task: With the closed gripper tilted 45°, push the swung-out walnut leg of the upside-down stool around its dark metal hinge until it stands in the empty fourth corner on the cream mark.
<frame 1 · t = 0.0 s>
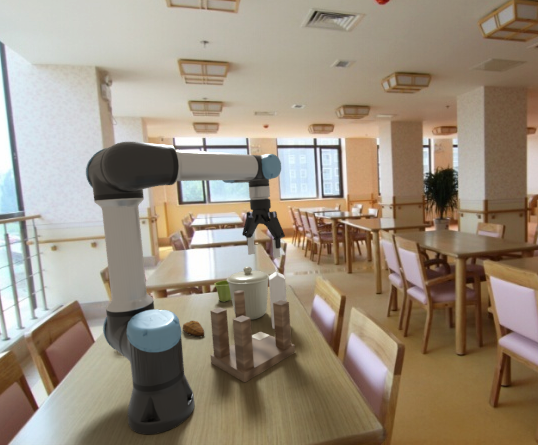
hand: (263, 255, 118), 28 cm above the table, tool pointing down, fingers open, 13 cm apart
plant pot: (225, 300, 157), on the table
croissant: (193, 333, 121), on the table
hinged leg: (240, 316, 106), point 10 cm above the table, hinge at 50.0°
milk: (279, 325, 122), on the table
canister: (250, 315, 134), on the table
stool seat: (253, 357, 99), on the table
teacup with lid: (141, 338, 119), on the table
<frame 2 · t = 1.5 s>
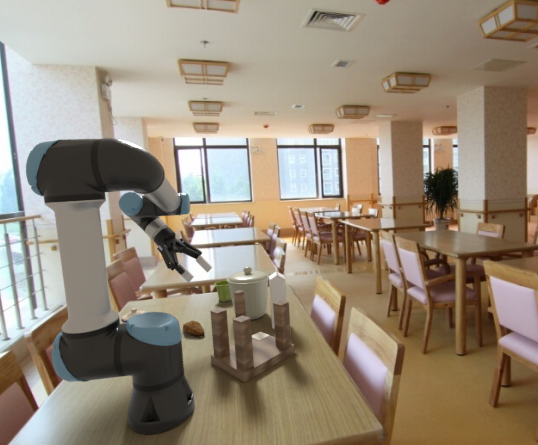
hand: (201, 274, 113), 24 cm above the table, tool tilted 45°, fingers open, 13 cm apart
nothing on the table moved.
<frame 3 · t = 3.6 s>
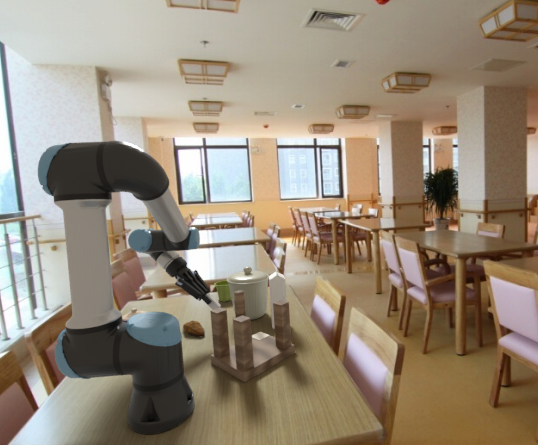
hand: (218, 308, 113), 11 cm above the table, tool tilted 45°, fingers closed
nothing on the table moved.
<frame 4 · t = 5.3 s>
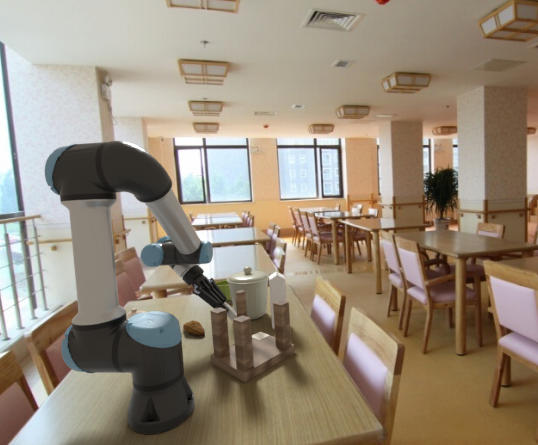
hand: (235, 317, 112), 8 cm above the table, tool tilted 45°, fingers closed
hinged leg: (241, 316, 106), point 10 cm above the table, hinge at 46.5°, touching gripper
everything else where it was.
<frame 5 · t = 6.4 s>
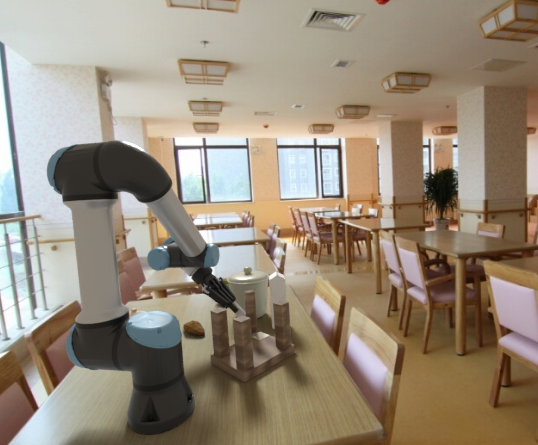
hand: (244, 317, 111), 8 cm above the table, tool tilted 45°, fingers closed
hinged leg: (246, 316, 106), point 10 cm above the table, hinge at 23.1°, touching gripper
everything else where it was.
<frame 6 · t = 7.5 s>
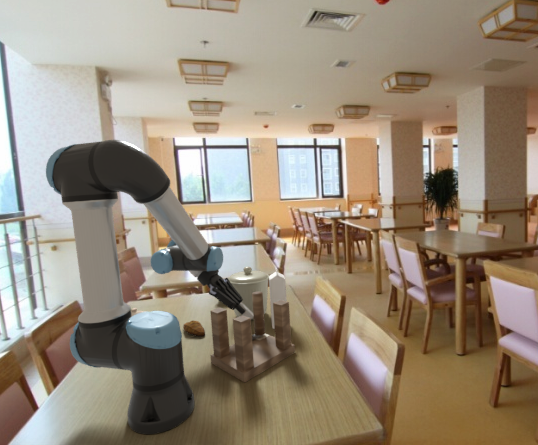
hand: (251, 318, 109), 8 cm above the table, tool tilted 45°, fingers closed
hinged leg: (250, 317, 105), point 10 cm above the table, hinge at -1.1°, touching gripper
everything else where it was.
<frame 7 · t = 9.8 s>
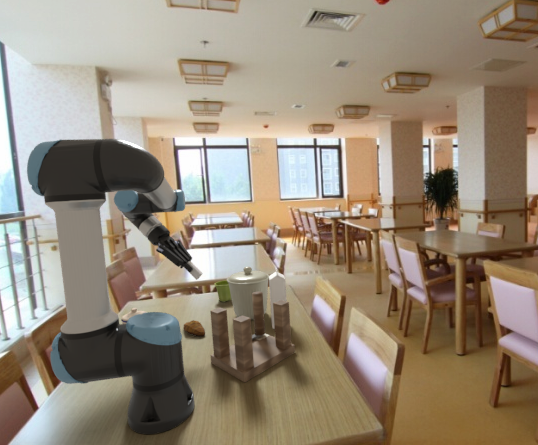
hand: (199, 276, 112), 23 cm above the table, tool tilted 45°, fingers closed
hinged leg: (250, 317, 105), point 10 cm above the table, hinge at -1.1°
everything else where it was.
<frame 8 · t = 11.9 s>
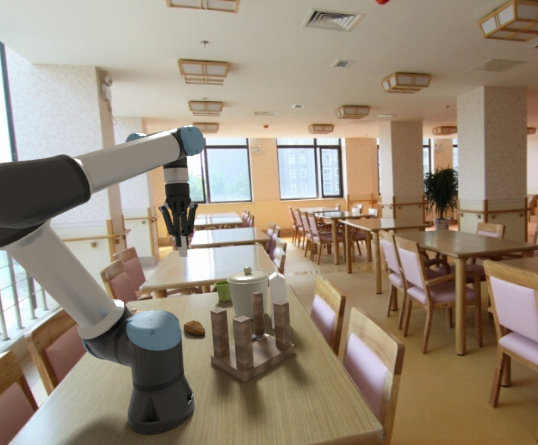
hand: (183, 256, 102), 32 cm above the table, tool pointing down, fingers closed
nothing on the table moved.
at the end: hinged leg at -1° (first picture: +50°) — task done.
